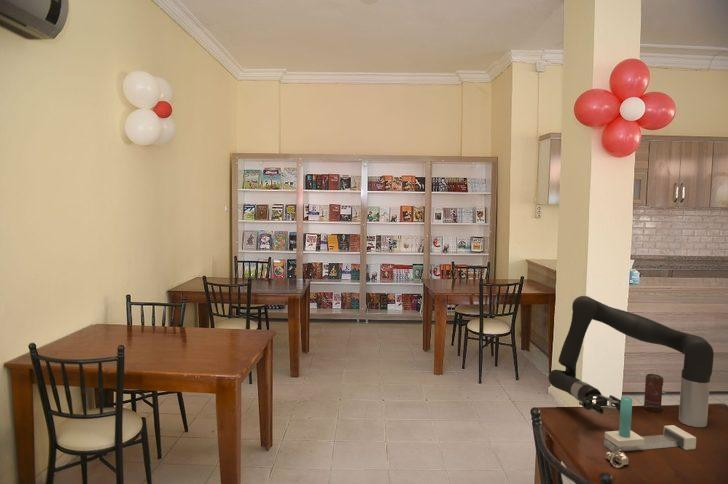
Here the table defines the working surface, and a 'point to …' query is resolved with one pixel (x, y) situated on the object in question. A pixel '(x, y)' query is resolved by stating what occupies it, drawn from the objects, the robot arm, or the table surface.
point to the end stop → (681, 437)
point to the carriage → (625, 427)
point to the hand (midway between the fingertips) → (613, 410)
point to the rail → (646, 443)
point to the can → (653, 392)
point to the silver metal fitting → (617, 458)
